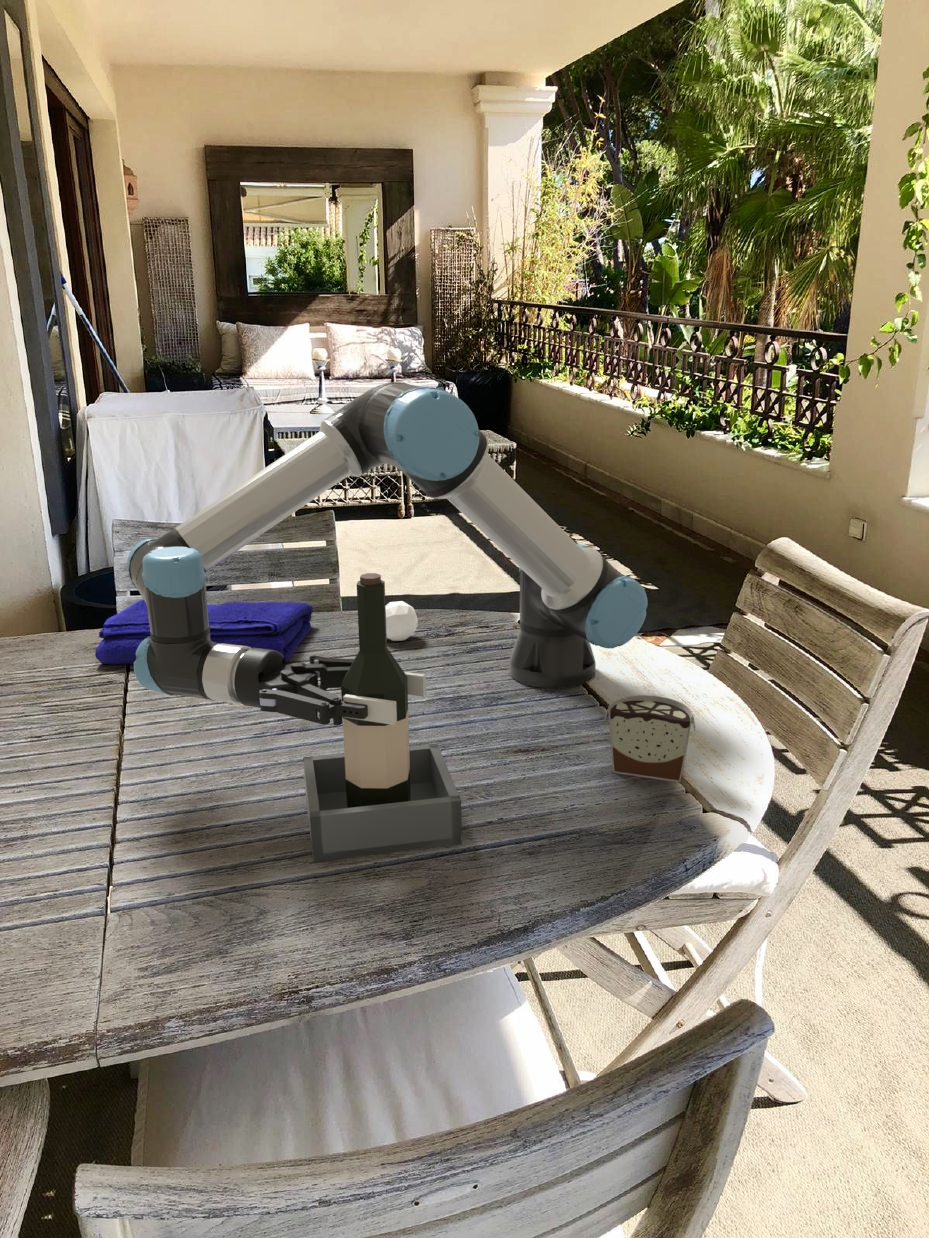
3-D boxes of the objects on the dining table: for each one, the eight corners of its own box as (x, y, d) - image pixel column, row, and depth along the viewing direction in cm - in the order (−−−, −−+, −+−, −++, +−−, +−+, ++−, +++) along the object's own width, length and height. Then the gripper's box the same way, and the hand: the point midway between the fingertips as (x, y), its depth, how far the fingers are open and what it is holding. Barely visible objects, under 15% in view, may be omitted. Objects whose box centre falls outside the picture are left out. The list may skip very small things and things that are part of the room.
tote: (438, 783, 134) (437, 743, 133) (461, 844, 120) (461, 800, 118) (305, 797, 131) (303, 757, 129) (313, 861, 116) (310, 817, 114)
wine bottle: (423, 794, 126) (418, 570, 117) (392, 825, 119) (383, 589, 110) (367, 782, 130) (358, 563, 120) (333, 811, 123) (320, 581, 113)
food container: (696, 764, 139) (701, 699, 136) (691, 784, 134) (696, 716, 130) (610, 752, 143) (613, 689, 140) (602, 771, 138) (604, 705, 134)
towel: (146, 624, 203) (141, 583, 200) (316, 625, 200) (313, 584, 198) (92, 670, 178) (86, 624, 175) (286, 673, 175) (283, 626, 173)
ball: (391, 649, 193) (386, 611, 196) (427, 639, 190) (421, 600, 193) (372, 642, 186) (367, 602, 189) (409, 631, 184) (403, 591, 186)
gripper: (290, 674, 136) (442, 695, 129) (202, 736, 118) (374, 764, 110) (287, 623, 134) (441, 641, 126) (196, 677, 115) (371, 702, 108)
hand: (410, 698), depth 118 cm, fingers closed on wine bottle, 8 cm apart
